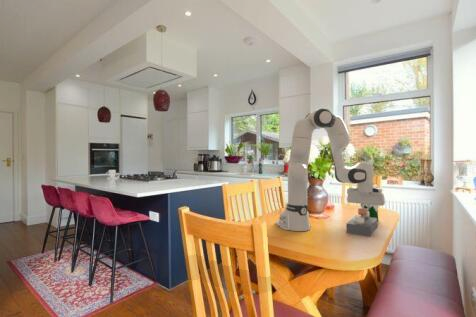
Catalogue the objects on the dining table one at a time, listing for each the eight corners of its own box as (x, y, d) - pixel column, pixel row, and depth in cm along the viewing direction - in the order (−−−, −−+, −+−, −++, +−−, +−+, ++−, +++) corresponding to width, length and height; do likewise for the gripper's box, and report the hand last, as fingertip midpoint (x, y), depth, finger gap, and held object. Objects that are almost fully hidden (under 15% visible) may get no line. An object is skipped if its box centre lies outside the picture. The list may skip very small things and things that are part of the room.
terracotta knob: (366, 222, 143) (366, 210, 143) (357, 221, 145) (357, 209, 145) (367, 220, 146) (367, 209, 146) (359, 219, 149) (359, 208, 149)
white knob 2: (368, 224, 149) (368, 212, 149) (360, 223, 152) (360, 211, 152) (370, 222, 153) (370, 211, 153) (361, 221, 156) (361, 210, 155)
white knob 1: (363, 232, 136) (363, 219, 136) (354, 230, 139) (354, 218, 139) (365, 230, 140) (365, 217, 140) (356, 228, 143) (356, 216, 143)
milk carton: (380, 221, 164) (380, 190, 164) (369, 222, 161) (369, 191, 161) (369, 218, 172) (369, 189, 172) (359, 219, 169) (359, 189, 169)
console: (370, 236, 133) (370, 226, 133) (346, 232, 140) (346, 223, 140) (377, 226, 152) (377, 218, 152) (355, 223, 159) (355, 215, 159)
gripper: (345, 187, 156) (345, 210, 156) (383, 190, 144) (383, 214, 144) (348, 186, 161) (348, 208, 161) (385, 189, 149) (385, 212, 149)
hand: (365, 211), depth 152 cm, fingers closed, pressing on white knob 2
